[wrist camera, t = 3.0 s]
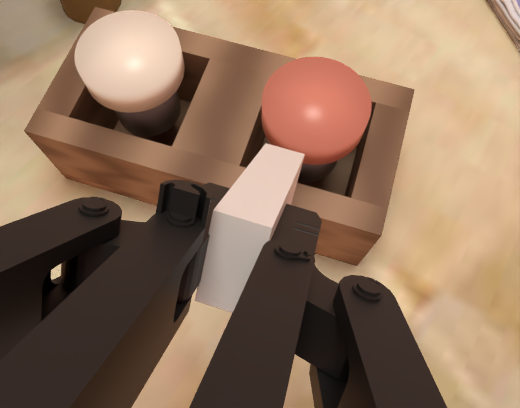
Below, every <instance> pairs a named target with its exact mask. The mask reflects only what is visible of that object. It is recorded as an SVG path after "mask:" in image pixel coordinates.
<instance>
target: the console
mask: <svg viewBox="0 0 520 408" xmlns="http://www.w3.org/2000/svg"><path fill="white" fill-rule="evenodd" d="M112 13H115V12H113V11H109V10H106V9H102V8H98V7H95V8H94V9H93V11H92V13H91V15H90V16H89V18H88V20H87V22H86V23H85V25H84V27H83V29H82V30H81V32H80V34H79V36H78V37H77V39H76V41H75V43H74V44H73V46H72V48H71V50H70V51H69V53H68V55H67V57H66V58H65V60H64V62H63V64H62V65H61V67H60V69H59V71H58V72H57V74H56V76H55V78H54V79H53V81H52V83H51V85H50V86H49V88H48V90H47V92H46V93H45V95H44V97H43V99H42V100H41V102H40V104H39V106H38V107H37V109H36V111H35V113H34V114H33V116H32V118H31V120H30V121H29V123H28V125H27V127H26V128H25V130H24V131H25V132H26V134H27V135H28V136H29V137H30V138H31V139H32V140H33V141H34V143H35V144H36V145H37V146H38V147H39V148H40V149H41V150H42V152H43V153H44V154H45V155H46V156H47V157H48V158H49V159H50V161H51V162H52V163H53V164H54V165H55V166H56V167H57V168H58V170H59V171H60V172H61V173H62V174H63V175H64V176H65V177H66V178H68V179H71V180H74V181H78V182H81V183H84V184H88V185H91V186H94V187H98V188H101V189H104V190H108V191H111V192H114V193H118V194H121V195H124V196H128V197H131V198H134V199H137V200H141V201H144V202H147V203H151V204H154V205H157V203H158V196H159V189H160V183H163V182H165V181H168V180H186V181H191V182H195V183H198V184H200V185H203V184H207V183H214V184H217V185H221V186H224V187H227V188H231V187H232V186H233V184H234V183H235V182H236V181H237V179H238V178H239V177H240V175H241V174H242V173H243V172H244V170H245V169H246V168H247V167H248V165H249V164H250V163H251V161H252V160H253V159H254V158H255V156H256V155H257V154H258V153H259V151H260V150H261V149H262V148H263V146H264V145H265V144H266V143H267V144H270V142H269V141H268V139H267V137H266V135H265V133H264V130H263V127H262V118H261V114H262V94H263V90H264V87H265V85H266V83H267V81H268V79H269V78H270V76H271V75H272V74H273V73H274V72H275V71H276V70H277V69H278V68H280V67H281V66H283V65H284V64H286V63H288V62H290V61H293V60H296V59H295V58H291V57H287V56H283V55H279V54H275V53H272V52H268V51H264V50H260V49H256V48H252V47H248V46H245V45H241V44H237V43H233V42H229V41H225V40H221V39H218V38H214V37H210V36H206V35H202V34H198V33H194V32H191V31H187V30H183V29H179V28H175V27H173V28H174V30H175V31H176V33H177V35H178V38H179V41H180V46H181V50H182V55H183V59H184V66H185V68H184V76H183V79H182V82H181V84H180V86H179V88H178V89H177V93H178V97H179V100H180V105H181V111H180V115H179V118H178V120H177V121H176V123H175V124H174V125H173V126H172V127H171V128H170V129H169V130H167V131H166V132H164V133H162V134H159V135H156V136H150V137H144V136H138V135H135V134H133V133H131V132H129V131H128V130H126V129H125V128H124V126H123V125H122V124H121V122H120V120H119V118H118V116H117V114H116V112H115V110H112V109H109V108H107V107H105V106H103V105H101V104H100V103H98V102H97V101H96V100H95V99H94V98H93V97H92V95H91V94H90V92H89V91H88V89H87V87H86V85H85V84H84V82H83V80H82V78H81V76H80V75H79V73H78V71H77V68H76V65H75V57H74V54H75V48H76V45H77V42H78V40H79V38H80V37H81V35H82V34H83V32H84V31H85V30H86V29H87V28H88V27H89V26H90V25H91V24H93V23H94V22H95V21H97V20H98V19H100V18H102V17H104V16H106V15H109V14H112ZM359 76H360V75H359ZM360 77H361V79H362V80H363V81H364V83H365V84H366V86H367V88H368V91H369V93H370V97H371V103H372V105H371V115H370V118H369V121H368V124H367V126H366V128H365V131H364V133H363V135H362V138H361V140H360V142H359V143H358V145H357V146H356V147H355V148H354V149H353V150H352V152H350V153H349V154H348V155H346V156H345V157H343V158H341V159H340V160H337V163H336V166H335V167H334V169H333V170H332V172H331V173H330V174H329V175H328V176H326V177H325V178H323V179H321V180H318V181H315V182H299V181H297V185H296V188H295V192H294V196H293V199H292V203H291V205H293V206H296V207H300V208H303V209H307V210H310V211H313V212H317V214H318V215H319V217H320V219H321V220H322V223H321V227H320V232H319V236H318V241H317V246H316V250H315V253H317V254H320V255H324V256H327V257H330V258H334V259H337V260H340V261H343V262H347V263H350V264H353V265H358V264H359V262H360V261H361V260H362V259H363V257H364V256H365V255H366V254H367V253H368V251H369V250H370V249H371V248H372V246H373V245H374V244H375V243H376V241H377V240H378V239H379V238H380V237H381V235H382V230H383V226H384V222H385V217H386V213H387V208H388V204H389V200H390V195H391V191H392V186H393V182H394V178H395V173H396V169H397V164H398V160H399V156H400V151H401V147H402V142H403V138H404V134H405V129H406V125H407V120H408V116H409V112H410V107H411V103H412V98H413V94H414V89H411V88H407V87H403V86H399V85H395V84H391V83H387V82H384V81H380V80H376V79H372V78H368V77H364V76H360ZM270 145H271V144H270Z"/></svg>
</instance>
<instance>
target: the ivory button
mask: <svg viewBox="0 0 520 408" xmlns="http://www.w3.org/2000/svg"><path fill="white" fill-rule="evenodd" d="M74 57H75V65H76V68H77V71H78V73H79V75H80V76H81V78H82V80H83V82H84V84H85V85H86V87H87V89H88V91H89V92H90V94H91V95H92V97H93V98H94V99H95V100H96V101H97V102H98V103H100V104H101V105H103V106H105V107H107V108H109V109H112V110H115V112H116V114H117V116H118V118H119V120H120V122H121V124H122V125H123V126H124V128H125V129H126V130H128V131H129V132H131V133H133V134H135V135H138V136H144V137H150V136H156V135H159V134H162V133H164V132H166V131H167V130H169V129H170V128H171V127H172V126H173V125H174V124H175V123H176V121H177V120H178V118H179V115H180V111H181V105H180V100H179V97H178V93H177V89H178V88H179V86H180V84H181V82H182V79H183V76H184V68H185V66H184V59H183V55H182V50H181V46H180V41H179V38H178V35H177V33H176V31H175V30H174V28H173V27H172V26H171V25H170V24H169V23H168V22H167V21H166V20H164V19H163V18H161V17H159V16H157V15H155V14H152V13H149V12H145V11H138V10H126V11H119V12H115V13H112V14H109V15H106V16H104V17H102V18H100V19H98V20H97V21H95V22H94V23H93V24H91V25H90V26H89V27H88V28H87V29H86V30H85V31H84V32H83V34H82V35H81V37H80V38H79V40H78V42H77V45H76V48H75V54H74Z"/></svg>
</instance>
